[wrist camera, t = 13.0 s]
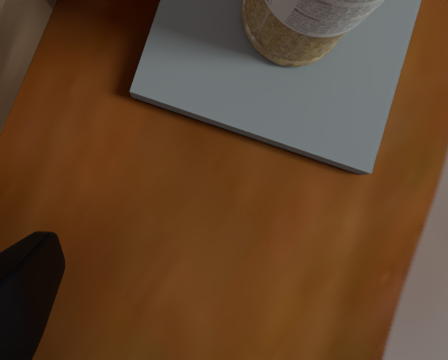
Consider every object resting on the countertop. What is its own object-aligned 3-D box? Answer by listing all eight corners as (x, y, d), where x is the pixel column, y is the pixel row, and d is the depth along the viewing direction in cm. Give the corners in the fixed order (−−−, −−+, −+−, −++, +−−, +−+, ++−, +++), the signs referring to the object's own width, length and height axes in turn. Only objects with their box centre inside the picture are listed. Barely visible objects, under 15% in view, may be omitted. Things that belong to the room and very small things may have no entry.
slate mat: (360, 175, 18) (371, 173, 17) (131, 97, 17) (129, 91, 16) (422, -40, 19) (436, -53, 18) (208, -129, 18) (210, -148, 17)
